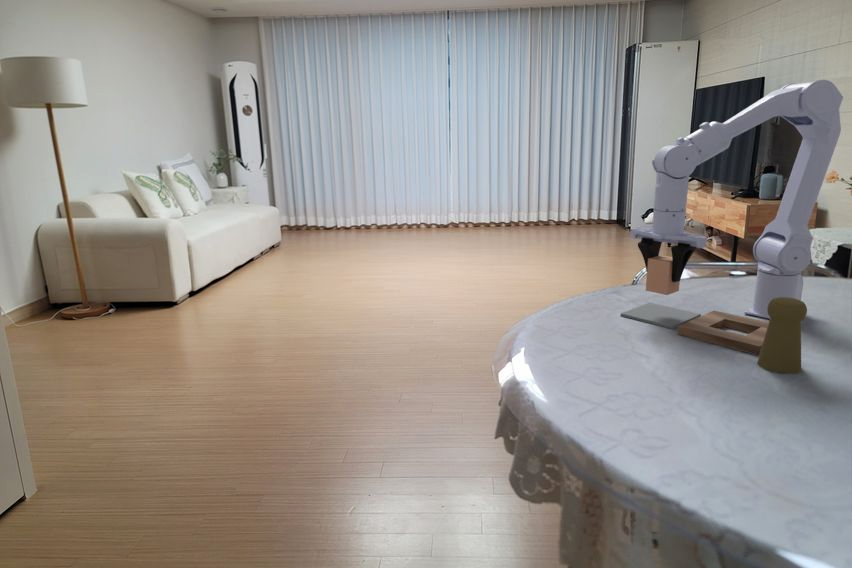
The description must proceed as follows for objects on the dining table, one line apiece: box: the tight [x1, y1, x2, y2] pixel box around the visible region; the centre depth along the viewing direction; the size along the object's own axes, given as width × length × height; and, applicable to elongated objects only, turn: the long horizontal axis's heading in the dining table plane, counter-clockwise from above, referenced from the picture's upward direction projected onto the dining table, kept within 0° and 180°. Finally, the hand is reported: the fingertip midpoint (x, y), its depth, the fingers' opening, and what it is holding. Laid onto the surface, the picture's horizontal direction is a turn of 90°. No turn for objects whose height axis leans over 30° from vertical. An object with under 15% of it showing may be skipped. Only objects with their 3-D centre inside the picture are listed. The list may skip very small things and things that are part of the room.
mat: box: [620, 302, 702, 330], centre depth 118 cm, size 11×11×1 cm
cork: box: [756, 297, 808, 375], centre depth 92 cm, size 6×6×11 cm
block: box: [645, 254, 681, 296], centre depth 116 cm, size 4×4×6 cm
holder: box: [677, 310, 769, 356], centre depth 107 cm, size 14×14×2 cm
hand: (663, 278), depth 117 cm, fingers closed on block, 4 cm apart
